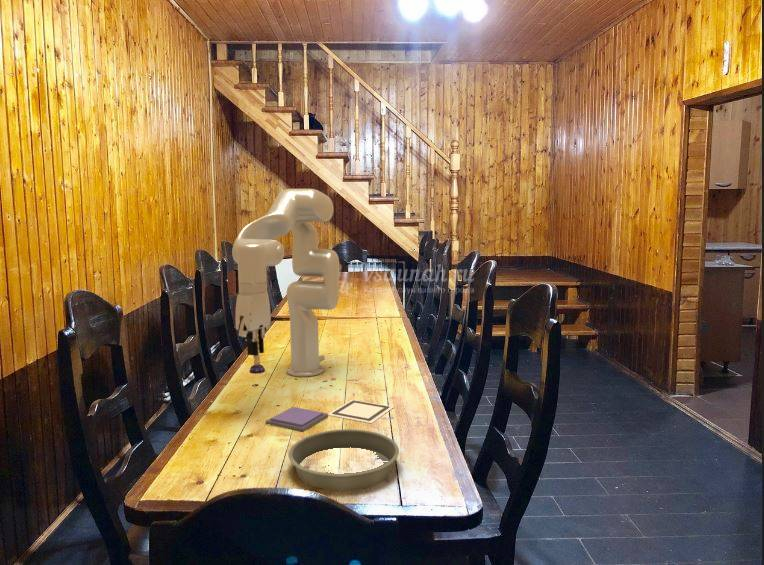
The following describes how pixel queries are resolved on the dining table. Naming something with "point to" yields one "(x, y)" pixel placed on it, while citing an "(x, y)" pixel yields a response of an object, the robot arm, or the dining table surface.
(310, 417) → the ink pad
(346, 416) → the marked card
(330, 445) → the cake pan
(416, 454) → the dining table surface
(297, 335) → the robot arm
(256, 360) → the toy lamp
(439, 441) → the dining table surface
